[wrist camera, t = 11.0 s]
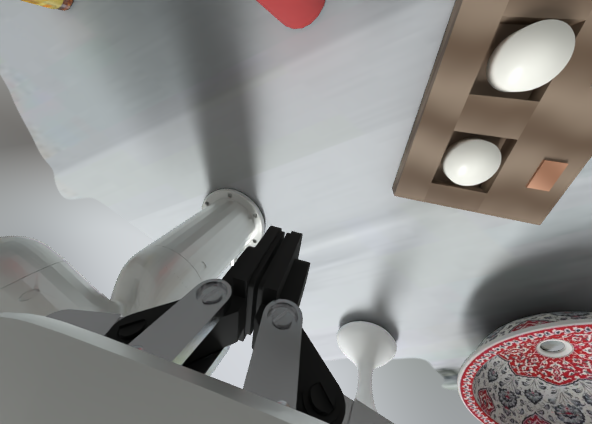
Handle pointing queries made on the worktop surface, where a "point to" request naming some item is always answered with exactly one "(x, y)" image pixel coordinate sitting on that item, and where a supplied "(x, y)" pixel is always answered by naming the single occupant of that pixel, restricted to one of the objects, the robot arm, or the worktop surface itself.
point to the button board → (502, 114)
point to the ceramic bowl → (532, 372)
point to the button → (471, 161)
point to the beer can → (294, 11)
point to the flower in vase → (366, 353)
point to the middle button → (531, 56)
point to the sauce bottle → (52, 3)
